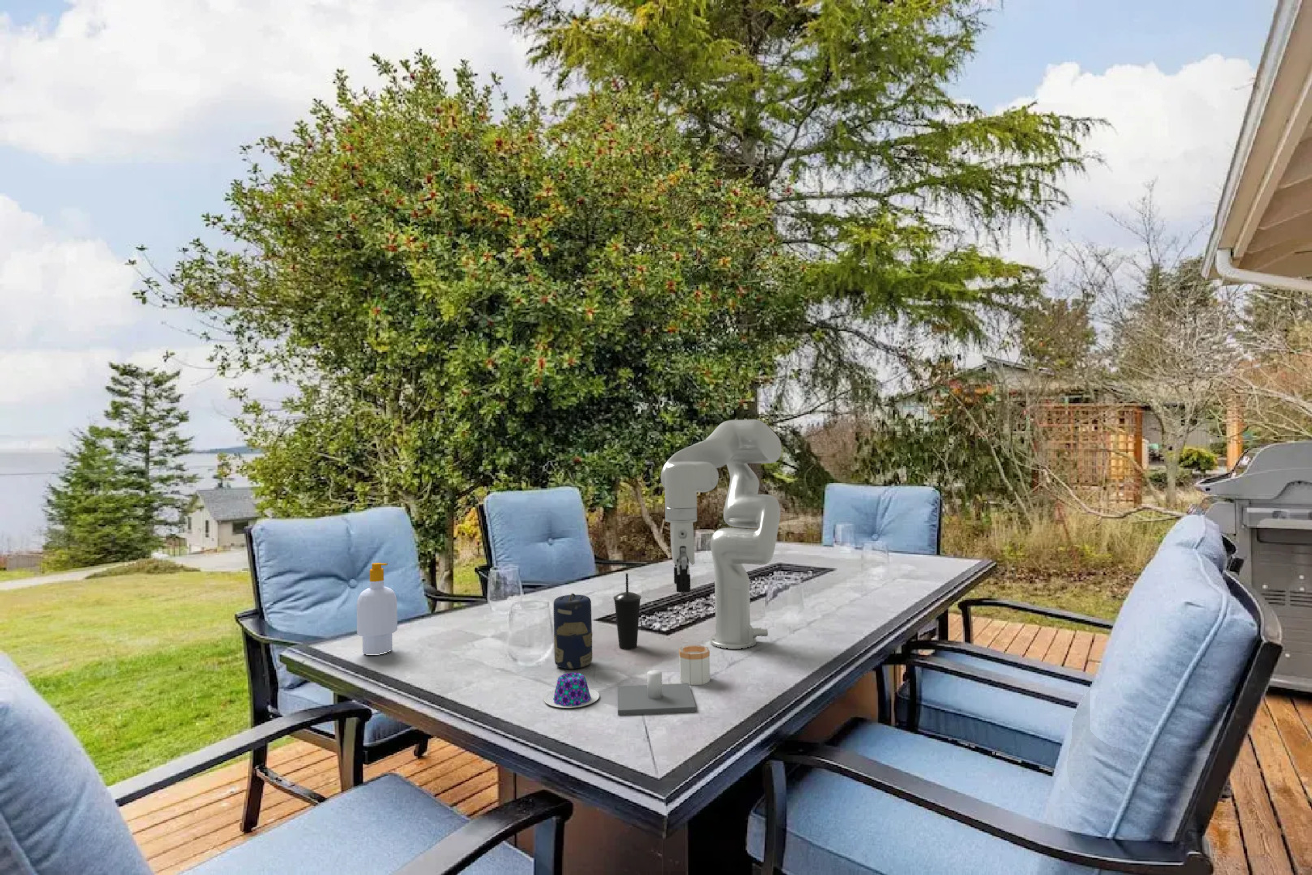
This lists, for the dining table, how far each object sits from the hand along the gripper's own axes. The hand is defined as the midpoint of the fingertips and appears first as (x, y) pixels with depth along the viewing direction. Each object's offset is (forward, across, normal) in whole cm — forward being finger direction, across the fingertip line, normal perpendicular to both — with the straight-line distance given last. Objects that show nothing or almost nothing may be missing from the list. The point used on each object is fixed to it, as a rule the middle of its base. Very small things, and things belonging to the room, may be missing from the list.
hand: (682, 587), depth 160 cm
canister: (+21, +12, +27) cm, 36 cm away
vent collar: (+21, -2, -2) cm, 21 cm away
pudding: (+22, -11, +25) cm, 35 cm away
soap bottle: (+22, +27, +81) cm, 88 cm away
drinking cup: (+21, +26, +13) cm, 36 cm away
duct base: (+21, -14, +7) cm, 26 cm away
